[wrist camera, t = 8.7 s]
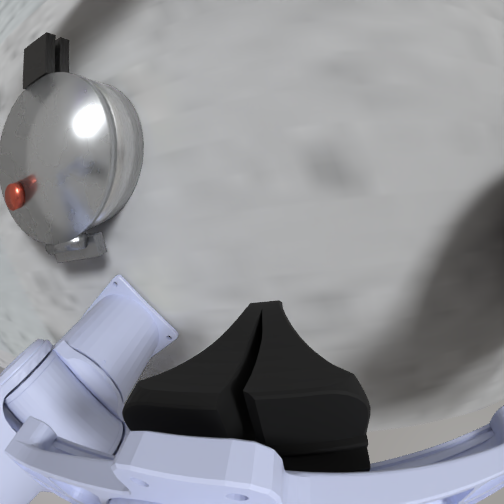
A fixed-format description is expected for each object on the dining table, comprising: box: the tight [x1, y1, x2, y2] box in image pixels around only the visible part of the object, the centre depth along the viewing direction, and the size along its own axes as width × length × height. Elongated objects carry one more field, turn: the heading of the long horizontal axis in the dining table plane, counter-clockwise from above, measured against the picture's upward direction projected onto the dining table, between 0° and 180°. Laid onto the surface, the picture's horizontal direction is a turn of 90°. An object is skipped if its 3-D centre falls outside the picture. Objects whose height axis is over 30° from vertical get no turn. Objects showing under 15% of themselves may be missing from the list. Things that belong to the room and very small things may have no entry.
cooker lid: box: [0, 32, 117, 255], centre depth 15 cm, size 18×13×2 cm
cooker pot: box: [55, 37, 144, 263], centre depth 18 cm, size 19×13×4 cm
